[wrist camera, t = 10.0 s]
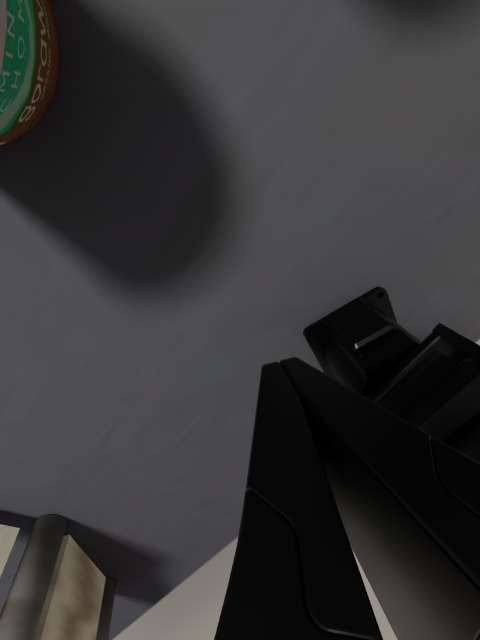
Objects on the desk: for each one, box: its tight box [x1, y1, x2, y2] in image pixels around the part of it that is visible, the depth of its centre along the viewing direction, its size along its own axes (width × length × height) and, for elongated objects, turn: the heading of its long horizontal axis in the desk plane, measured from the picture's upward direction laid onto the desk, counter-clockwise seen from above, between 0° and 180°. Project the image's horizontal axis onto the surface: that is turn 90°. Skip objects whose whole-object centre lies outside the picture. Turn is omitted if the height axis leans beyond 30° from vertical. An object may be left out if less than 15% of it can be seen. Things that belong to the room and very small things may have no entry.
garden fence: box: [0, 514, 116, 640], centre depth 26 cm, size 15×3×12 cm, turn 10°
